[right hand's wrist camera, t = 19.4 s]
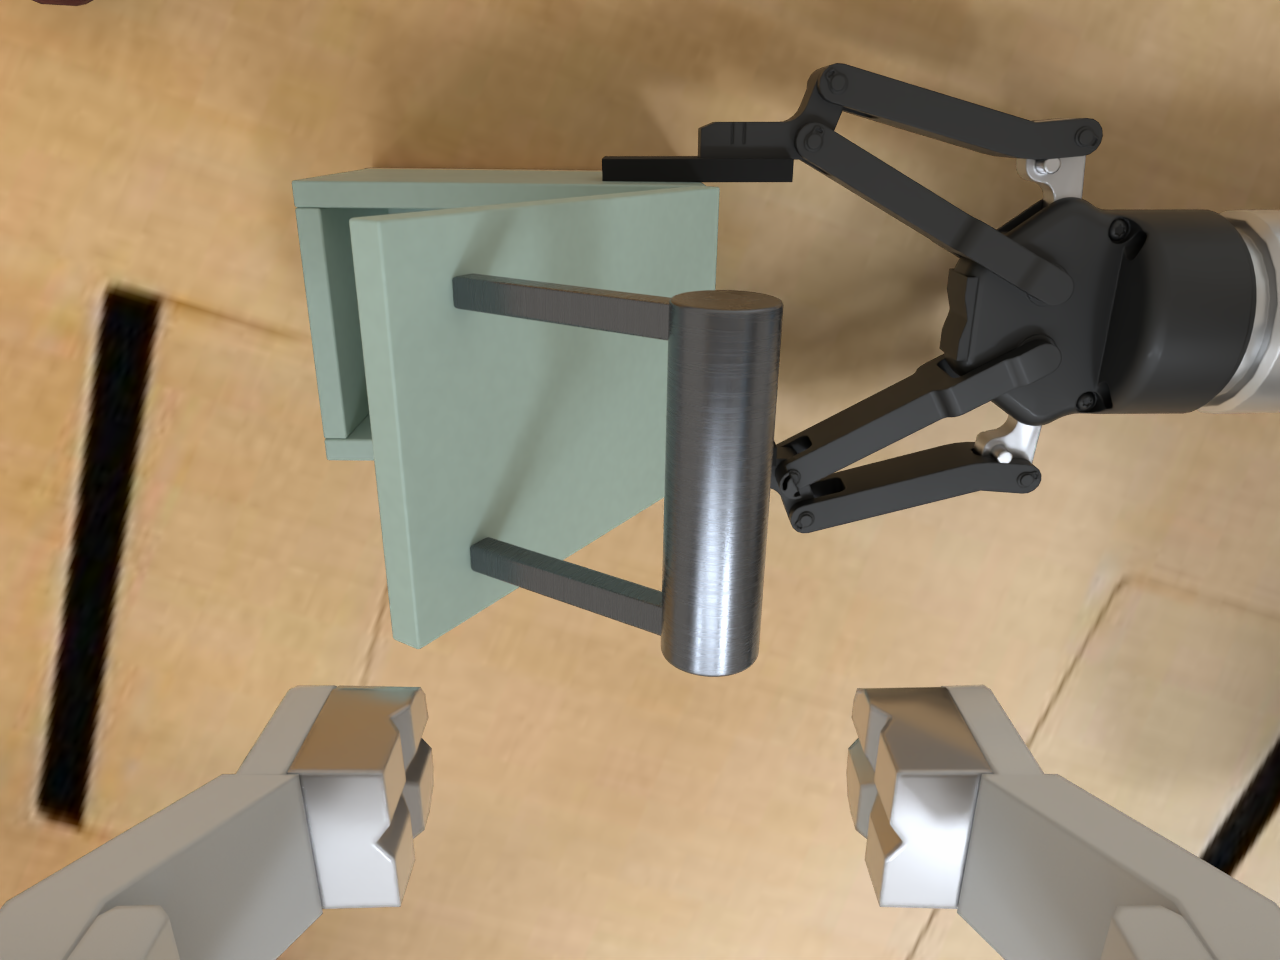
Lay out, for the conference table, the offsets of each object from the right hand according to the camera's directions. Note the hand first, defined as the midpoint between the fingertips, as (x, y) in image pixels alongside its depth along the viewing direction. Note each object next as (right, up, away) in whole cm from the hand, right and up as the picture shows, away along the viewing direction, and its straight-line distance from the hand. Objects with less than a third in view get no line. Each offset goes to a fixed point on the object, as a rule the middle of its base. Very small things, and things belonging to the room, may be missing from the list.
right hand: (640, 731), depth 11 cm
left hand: (-1, +9, +23) cm, 25 cm away
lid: (-2, +6, +14) cm, 15 cm away
